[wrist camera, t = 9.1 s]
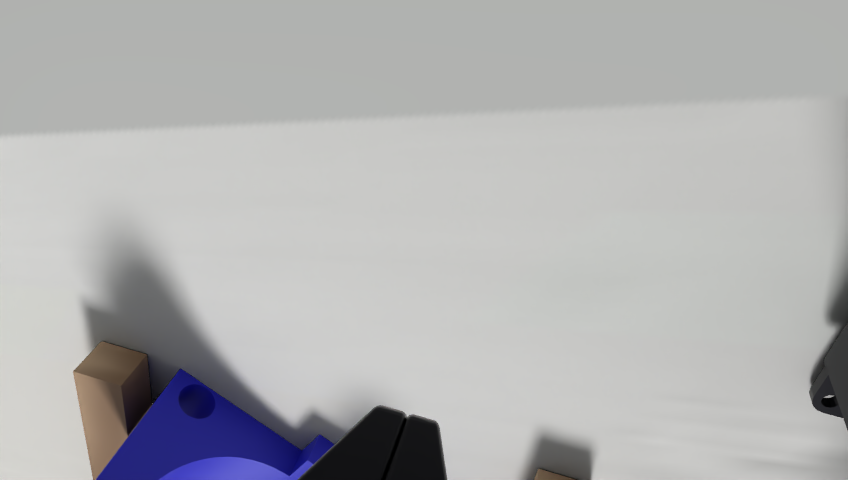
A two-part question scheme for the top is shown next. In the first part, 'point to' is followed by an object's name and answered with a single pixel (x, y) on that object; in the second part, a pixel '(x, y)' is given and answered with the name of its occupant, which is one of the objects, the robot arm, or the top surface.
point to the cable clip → (206, 441)
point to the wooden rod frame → (126, 402)
